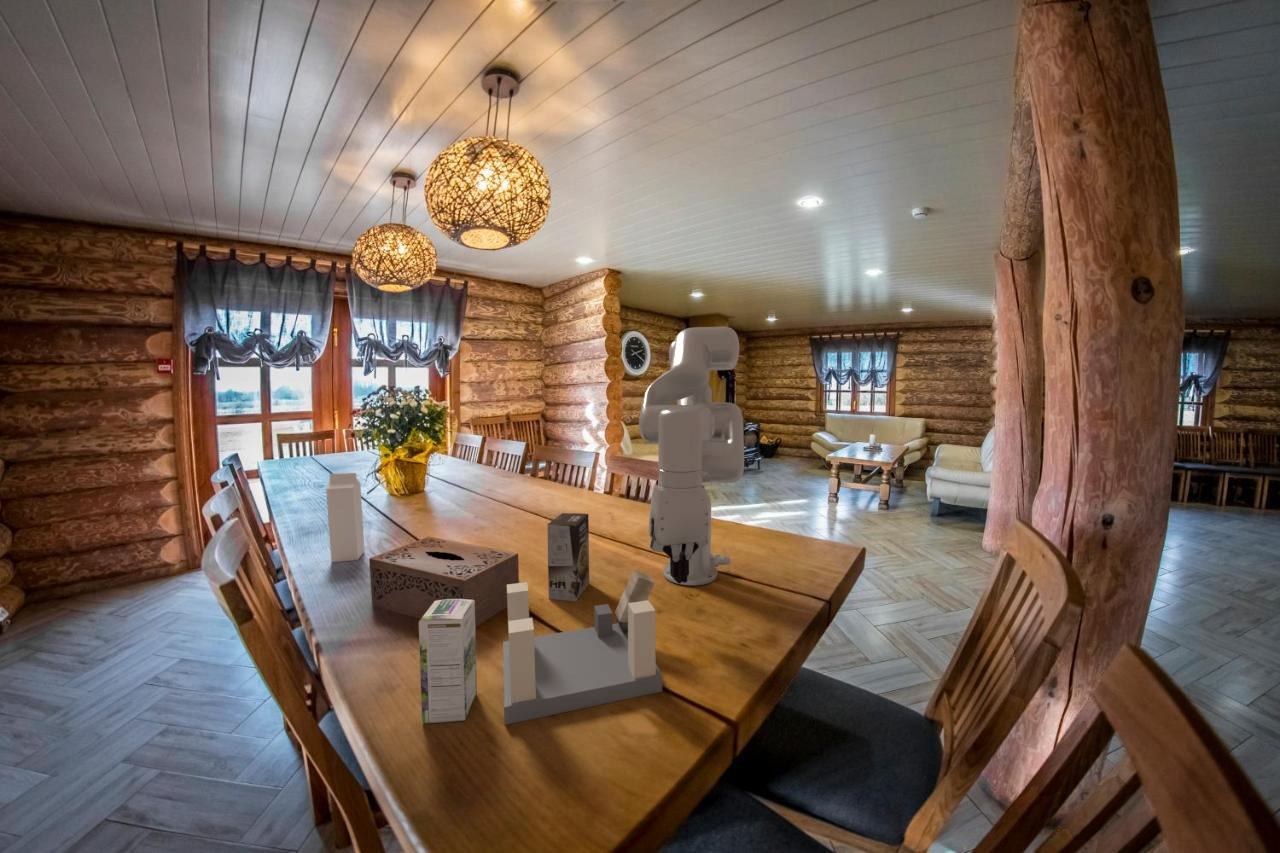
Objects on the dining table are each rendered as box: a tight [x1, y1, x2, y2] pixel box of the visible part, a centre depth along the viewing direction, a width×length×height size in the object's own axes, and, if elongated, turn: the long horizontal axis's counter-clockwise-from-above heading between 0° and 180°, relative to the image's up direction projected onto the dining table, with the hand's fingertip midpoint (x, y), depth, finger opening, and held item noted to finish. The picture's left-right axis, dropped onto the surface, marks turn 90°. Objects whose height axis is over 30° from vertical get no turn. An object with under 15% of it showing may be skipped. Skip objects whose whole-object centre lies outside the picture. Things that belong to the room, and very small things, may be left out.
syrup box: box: [418, 599, 478, 724], centre depth 63 cm, size 6×6×14 cm
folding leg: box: [614, 569, 655, 633], centre depth 80 cm, size 3×4×10 cm
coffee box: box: [547, 512, 590, 603], centre depth 99 cm, size 9×6×16 cm
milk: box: [325, 472, 366, 563], centre depth 118 cm, size 6×6×22 cm
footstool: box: [502, 581, 663, 726], centre depth 71 cm, size 22×16×12 cm
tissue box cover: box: [368, 536, 520, 628], centre depth 95 cm, size 26×14×10 cm, turn 65°
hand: (679, 579), depth 82 cm, fingers closed
